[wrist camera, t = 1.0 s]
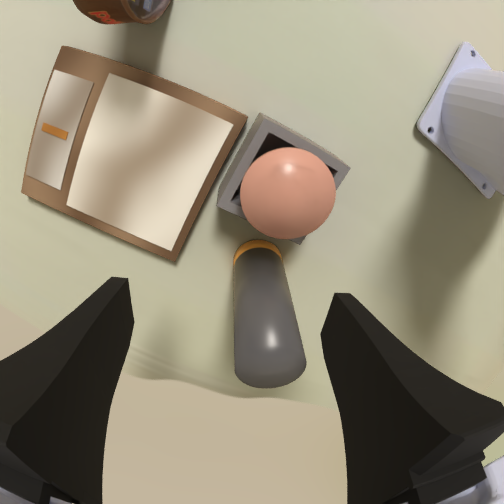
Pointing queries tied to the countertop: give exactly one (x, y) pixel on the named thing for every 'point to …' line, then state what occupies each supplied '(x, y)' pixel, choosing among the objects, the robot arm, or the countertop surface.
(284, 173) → the button
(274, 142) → the button base
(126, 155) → the drawing board
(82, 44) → the countertop surface
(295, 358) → the cylinder
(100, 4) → the tin
